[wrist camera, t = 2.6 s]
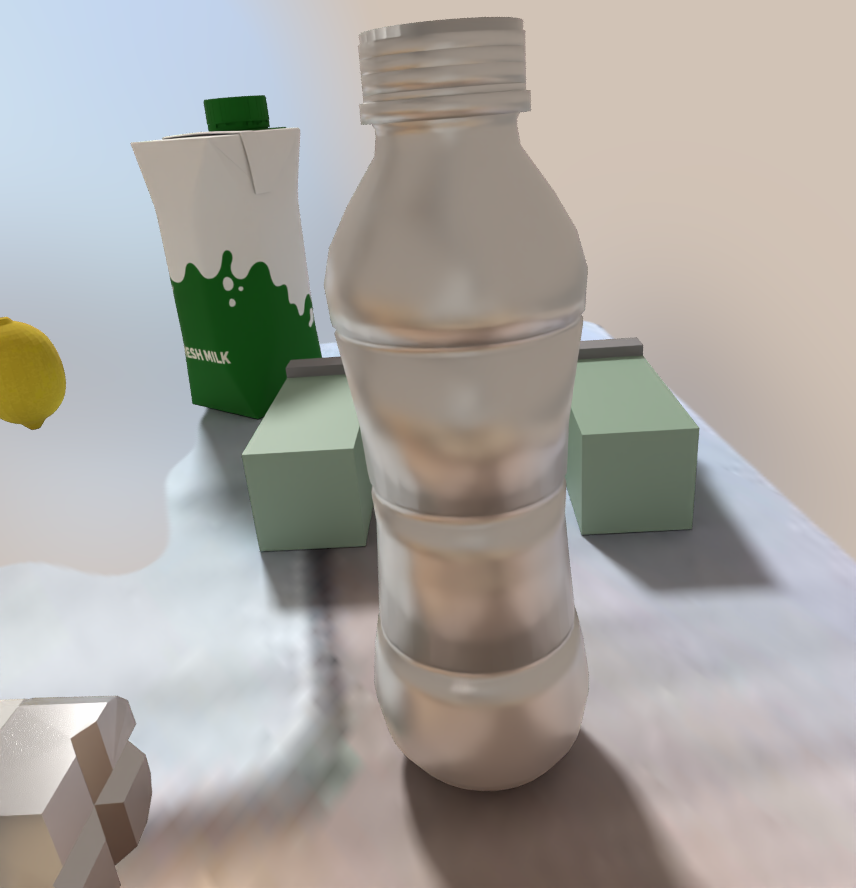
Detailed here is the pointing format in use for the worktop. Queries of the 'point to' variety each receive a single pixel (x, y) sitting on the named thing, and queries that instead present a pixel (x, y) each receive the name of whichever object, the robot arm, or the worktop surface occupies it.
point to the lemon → (28, 375)
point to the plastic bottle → (464, 403)
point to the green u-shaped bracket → (588, 465)
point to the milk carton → (234, 252)
